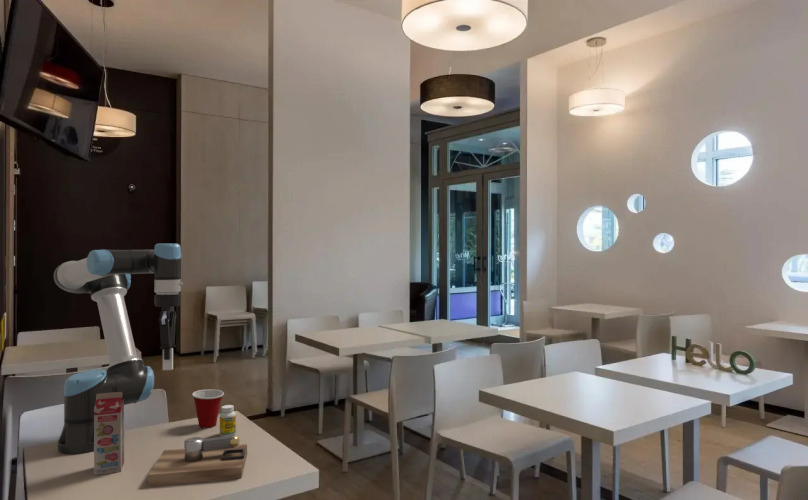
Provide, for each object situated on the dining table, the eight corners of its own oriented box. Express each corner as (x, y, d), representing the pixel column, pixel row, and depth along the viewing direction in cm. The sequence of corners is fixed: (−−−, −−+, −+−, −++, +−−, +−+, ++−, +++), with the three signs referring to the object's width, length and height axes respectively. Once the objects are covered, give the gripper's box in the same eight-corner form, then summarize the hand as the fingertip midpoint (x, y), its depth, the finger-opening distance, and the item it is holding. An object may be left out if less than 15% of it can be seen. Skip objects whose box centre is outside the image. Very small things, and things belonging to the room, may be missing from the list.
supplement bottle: (231, 430, 186) (231, 403, 186) (238, 434, 182) (238, 406, 182) (216, 434, 182) (216, 406, 182) (223, 438, 178) (223, 409, 178)
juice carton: (98, 466, 155) (98, 391, 155) (124, 463, 157) (123, 388, 157) (94, 475, 149) (93, 396, 149) (120, 471, 151) (120, 394, 151)
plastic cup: (213, 431, 185) (213, 397, 185) (185, 429, 187) (185, 395, 187) (229, 421, 195) (229, 389, 195) (203, 420, 197) (203, 387, 197)
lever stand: (164, 460, 159) (164, 447, 159) (247, 453, 164) (247, 441, 164) (148, 486, 142) (148, 471, 142) (241, 477, 147) (241, 464, 147)
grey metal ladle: (184, 462, 149) (184, 444, 149) (184, 455, 154) (184, 438, 154) (240, 454, 155) (240, 437, 155) (238, 448, 160) (238, 431, 160)
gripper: (176, 294, 158) (176, 373, 158) (184, 291, 171) (184, 364, 171) (149, 295, 157) (149, 374, 157) (160, 291, 170) (160, 365, 170)
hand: (167, 369), depth 164 cm, fingers closed
